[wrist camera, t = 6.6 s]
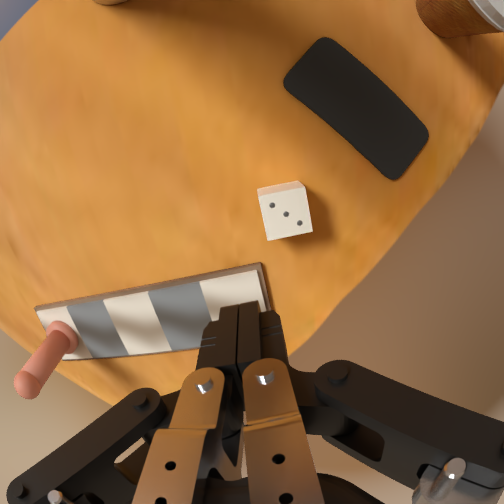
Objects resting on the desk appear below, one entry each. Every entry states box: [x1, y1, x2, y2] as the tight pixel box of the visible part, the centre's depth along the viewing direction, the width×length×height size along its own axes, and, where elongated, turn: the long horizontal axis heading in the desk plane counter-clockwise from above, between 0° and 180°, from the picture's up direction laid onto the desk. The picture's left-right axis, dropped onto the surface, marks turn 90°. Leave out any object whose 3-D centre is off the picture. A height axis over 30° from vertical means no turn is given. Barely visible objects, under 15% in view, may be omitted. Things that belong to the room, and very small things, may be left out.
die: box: [257, 181, 313, 241], centre depth 28 cm, size 4×4×4 cm
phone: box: [283, 37, 429, 180], centre depth 26 cm, size 7×1×15 cm
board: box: [34, 262, 271, 361], centre depth 34 cm, size 9×31×1 cm, turn 103°
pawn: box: [14, 320, 78, 399], centre depth 29 cm, size 5×5×12 cm
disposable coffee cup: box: [416, 0, 504, 38], centre depth 16 cm, size 10×10×12 cm
